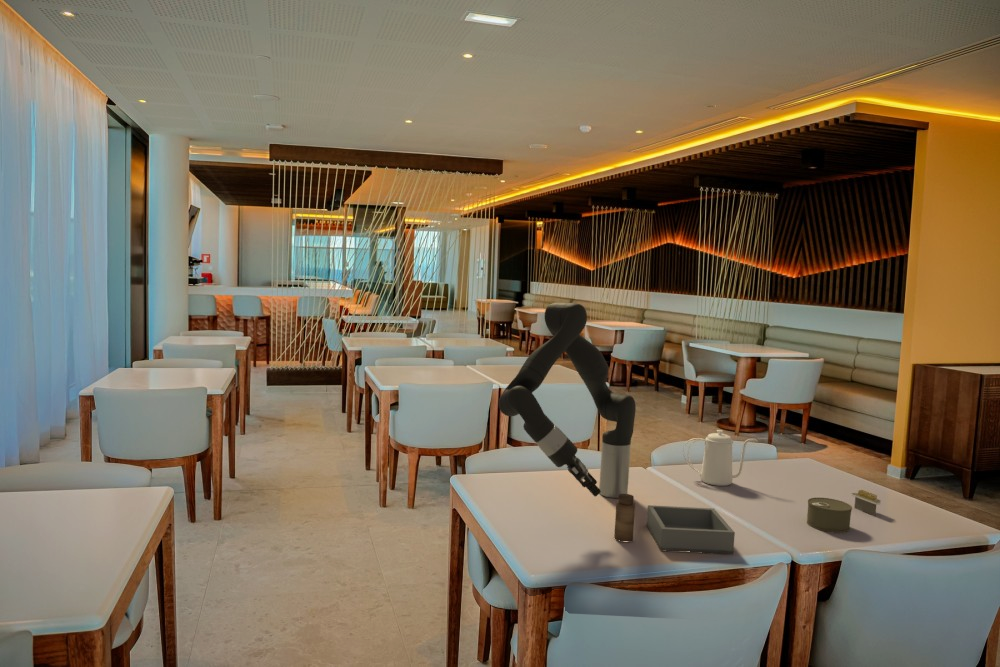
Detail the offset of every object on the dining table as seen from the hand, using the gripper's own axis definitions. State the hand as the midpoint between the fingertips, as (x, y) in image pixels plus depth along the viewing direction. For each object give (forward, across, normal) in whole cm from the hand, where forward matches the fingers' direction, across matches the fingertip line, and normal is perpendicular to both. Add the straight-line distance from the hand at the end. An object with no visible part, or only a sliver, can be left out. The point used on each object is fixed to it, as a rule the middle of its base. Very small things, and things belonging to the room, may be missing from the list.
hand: (596, 489), depth 196 cm
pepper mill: (+15, 0, +4) cm, 16 cm away
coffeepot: (+46, +60, -26) cm, 80 cm away
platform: (+75, +35, -55) cm, 99 cm away
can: (+61, +19, -41) cm, 76 cm away
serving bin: (+28, +2, -9) cm, 29 cm away
